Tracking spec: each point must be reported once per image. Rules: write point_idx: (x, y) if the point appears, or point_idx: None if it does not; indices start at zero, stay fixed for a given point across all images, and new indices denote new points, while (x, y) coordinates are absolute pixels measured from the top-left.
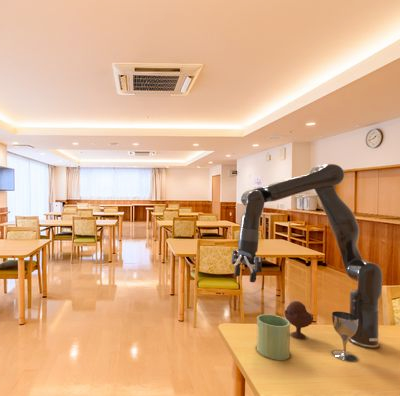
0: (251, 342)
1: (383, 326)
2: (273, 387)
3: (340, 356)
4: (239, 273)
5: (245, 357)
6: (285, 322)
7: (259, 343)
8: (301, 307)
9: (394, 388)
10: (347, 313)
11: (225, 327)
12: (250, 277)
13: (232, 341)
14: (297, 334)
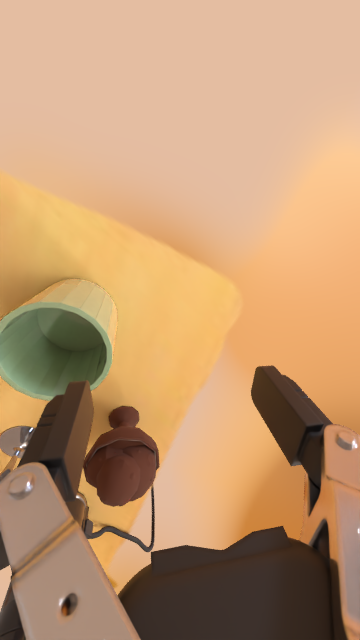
0: (136, 298)
1: (105, 566)
2: None
3: (17, 433)
4: (261, 409)
5: (71, 224)
6: (51, 389)
7: (77, 284)
8: (98, 488)
9: None
10: None
11: (228, 290)
12: (69, 407)
13: (158, 253)
14: (120, 418)
